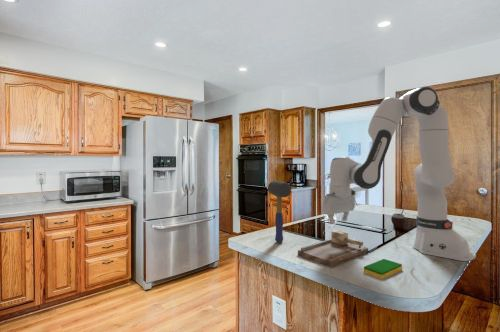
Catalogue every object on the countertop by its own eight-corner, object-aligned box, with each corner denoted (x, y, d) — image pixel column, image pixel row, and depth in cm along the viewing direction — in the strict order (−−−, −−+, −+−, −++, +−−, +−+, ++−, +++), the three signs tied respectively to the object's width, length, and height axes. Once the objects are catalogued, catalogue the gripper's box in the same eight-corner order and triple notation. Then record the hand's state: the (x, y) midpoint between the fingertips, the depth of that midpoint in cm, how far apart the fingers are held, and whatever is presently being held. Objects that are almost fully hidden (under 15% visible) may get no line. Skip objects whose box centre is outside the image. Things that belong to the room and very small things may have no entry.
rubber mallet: (292, 245, 131) (292, 181, 130) (278, 247, 129) (278, 182, 128) (279, 238, 143) (279, 179, 142) (266, 239, 140) (266, 180, 139)
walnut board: (370, 253, 120) (370, 245, 120) (333, 268, 104) (333, 259, 104) (334, 243, 134) (334, 236, 134) (297, 255, 118) (297, 247, 118)
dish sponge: (402, 270, 103) (402, 264, 103) (381, 280, 95) (382, 273, 95) (383, 264, 109) (383, 258, 108) (363, 273, 101) (363, 266, 101)
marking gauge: (364, 247, 120) (364, 236, 120) (359, 249, 118) (359, 238, 117) (336, 240, 131) (336, 229, 131) (331, 242, 129) (331, 231, 128)
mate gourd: (388, 227, 164) (388, 202, 163) (397, 226, 167) (398, 201, 166) (400, 230, 157) (400, 204, 156) (409, 228, 160) (409, 202, 160)
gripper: (331, 194, 118) (330, 226, 118) (357, 191, 130) (357, 220, 131) (319, 192, 123) (318, 223, 123) (346, 189, 135) (345, 218, 136)
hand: (338, 222), depth 127 cm, fingers open, 8 cm apart
